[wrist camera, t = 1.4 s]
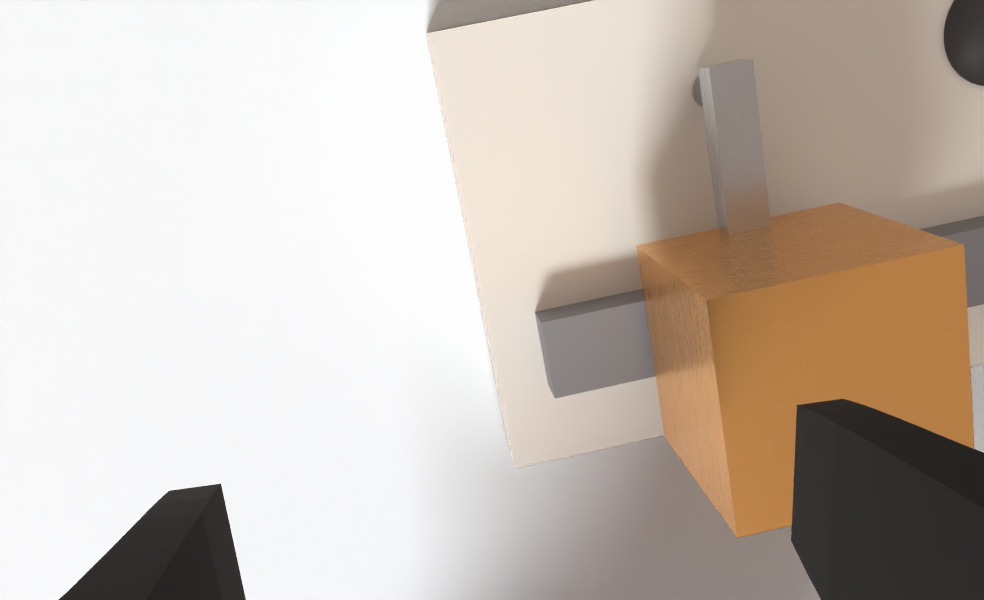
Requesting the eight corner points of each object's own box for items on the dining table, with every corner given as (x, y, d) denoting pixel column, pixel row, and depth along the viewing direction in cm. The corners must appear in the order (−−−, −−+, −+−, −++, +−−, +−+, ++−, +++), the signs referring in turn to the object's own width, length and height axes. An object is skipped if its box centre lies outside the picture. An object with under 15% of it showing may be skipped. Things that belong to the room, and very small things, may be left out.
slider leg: (655, 424, 19) (737, 538, 15) (603, 83, 17) (680, 95, 13) (839, 382, 20) (975, 482, 15) (809, 42, 18) (953, 39, 13)
